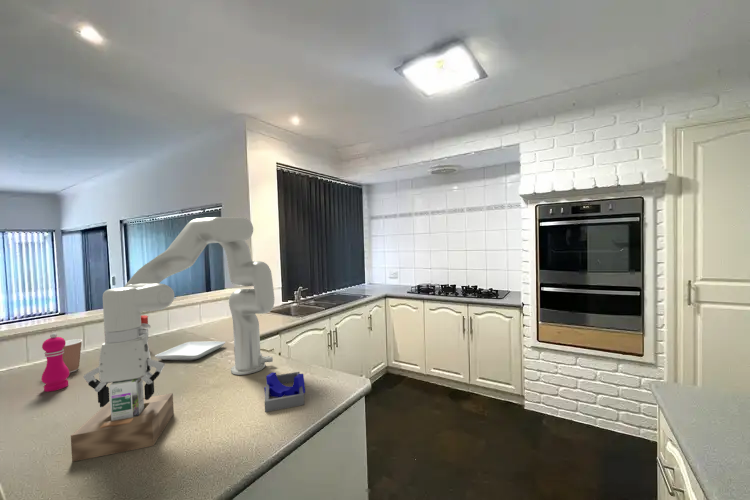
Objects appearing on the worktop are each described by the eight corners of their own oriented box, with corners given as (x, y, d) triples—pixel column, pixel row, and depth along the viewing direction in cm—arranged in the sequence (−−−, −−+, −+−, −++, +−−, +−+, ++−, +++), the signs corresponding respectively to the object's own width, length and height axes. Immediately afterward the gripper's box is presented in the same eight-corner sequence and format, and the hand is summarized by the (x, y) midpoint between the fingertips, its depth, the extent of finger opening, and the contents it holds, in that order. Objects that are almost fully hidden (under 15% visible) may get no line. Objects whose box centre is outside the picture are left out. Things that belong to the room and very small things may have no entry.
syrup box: (111, 443, 79) (108, 385, 79) (120, 431, 84) (117, 377, 84) (138, 437, 81) (136, 381, 81) (145, 426, 87) (143, 373, 86)
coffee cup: (44, 374, 130) (42, 345, 130) (75, 365, 139) (74, 338, 139) (58, 377, 126) (56, 347, 126) (89, 368, 136) (87, 340, 135)
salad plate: (188, 347, 160) (187, 340, 160) (227, 347, 157) (226, 340, 157) (153, 363, 139) (152, 355, 139) (197, 363, 136) (196, 355, 136)
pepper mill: (38, 394, 111) (34, 337, 111) (47, 386, 117) (44, 332, 117) (65, 389, 114) (62, 333, 114) (73, 382, 121) (70, 329, 120)
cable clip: (265, 396, 102) (263, 378, 101) (273, 390, 106) (272, 372, 106) (297, 399, 98) (295, 380, 98) (305, 392, 102) (303, 373, 102)
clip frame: (299, 380, 112) (299, 371, 112) (304, 404, 94) (303, 394, 94) (267, 385, 109) (266, 376, 109) (265, 412, 91) (264, 401, 91)
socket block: (173, 413, 93) (172, 392, 93) (153, 445, 77) (152, 420, 77) (107, 425, 88) (106, 402, 88) (72, 461, 73) (70, 434, 73)
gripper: (166, 328, 88) (170, 389, 89) (91, 336, 83) (94, 400, 84) (157, 334, 81) (160, 401, 81) (73, 343, 76) (77, 414, 76)
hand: (127, 401), depth 82 cm, fingers open, 9 cm apart
